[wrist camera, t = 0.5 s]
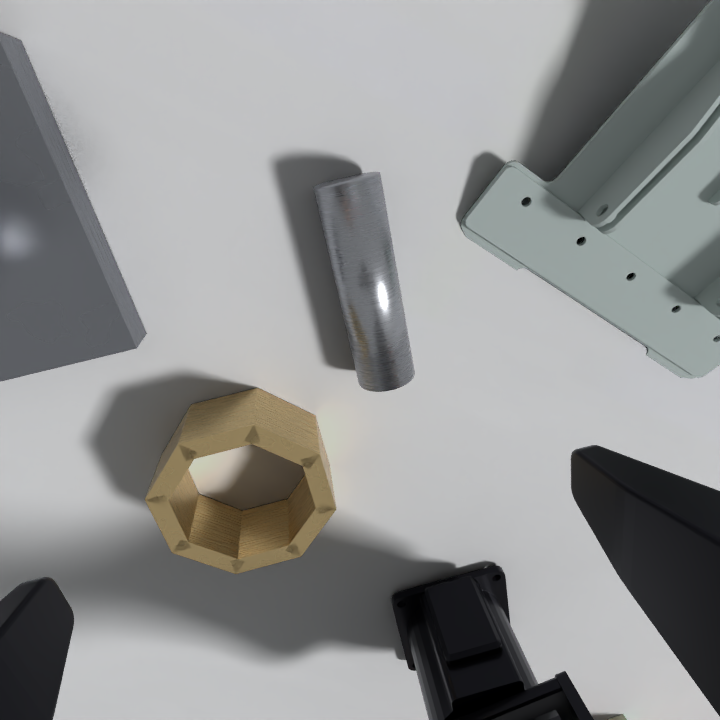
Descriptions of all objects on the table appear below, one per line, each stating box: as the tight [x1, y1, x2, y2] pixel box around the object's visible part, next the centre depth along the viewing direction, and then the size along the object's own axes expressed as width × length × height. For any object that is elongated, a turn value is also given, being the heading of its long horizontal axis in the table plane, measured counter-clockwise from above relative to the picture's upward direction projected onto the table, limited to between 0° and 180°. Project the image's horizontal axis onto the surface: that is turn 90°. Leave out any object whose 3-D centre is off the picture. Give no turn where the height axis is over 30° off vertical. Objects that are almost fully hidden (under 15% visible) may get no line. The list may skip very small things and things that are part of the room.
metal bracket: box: [461, 0, 720, 378], centre depth 20 cm, size 14×6×15 cm
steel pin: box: [313, 172, 415, 392], centre depth 19 cm, size 8×2×2 cm, turn 12°
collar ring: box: [145, 388, 336, 574], centre depth 21 cm, size 7×7×3 cm
